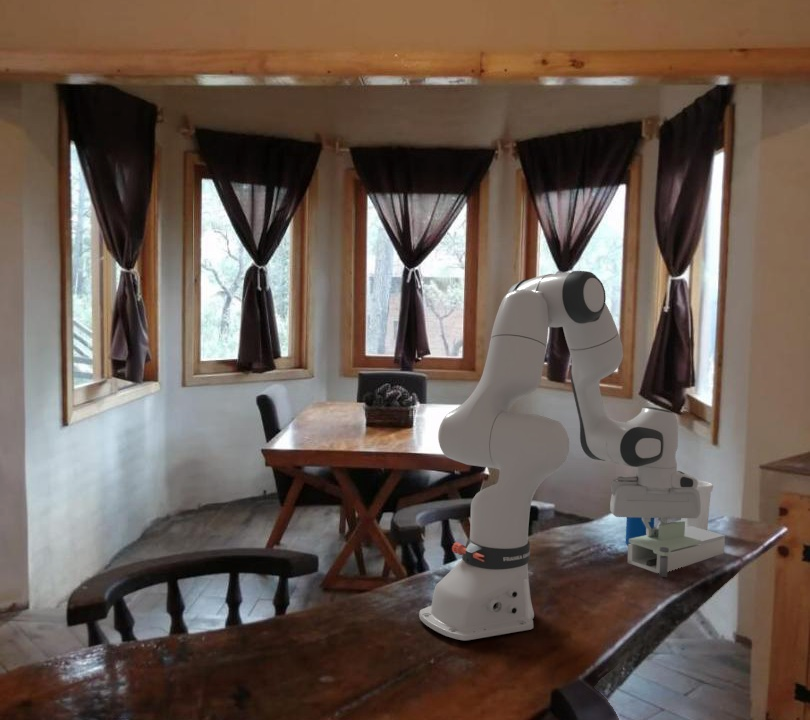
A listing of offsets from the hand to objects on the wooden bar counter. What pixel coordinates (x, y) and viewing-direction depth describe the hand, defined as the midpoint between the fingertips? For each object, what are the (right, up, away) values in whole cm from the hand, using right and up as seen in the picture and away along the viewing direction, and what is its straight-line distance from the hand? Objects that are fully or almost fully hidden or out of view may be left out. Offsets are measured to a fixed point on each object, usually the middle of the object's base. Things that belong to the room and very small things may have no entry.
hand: (653, 535), depth 172 cm
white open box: (+6, -6, 0) cm, 8 cm away
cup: (+17, -5, +20) cm, 27 cm away
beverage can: (0, -5, +10) cm, 12 cm away
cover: (+2, -1, -3) cm, 4 cm away
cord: (+6, -5, 0) cm, 8 cm away
